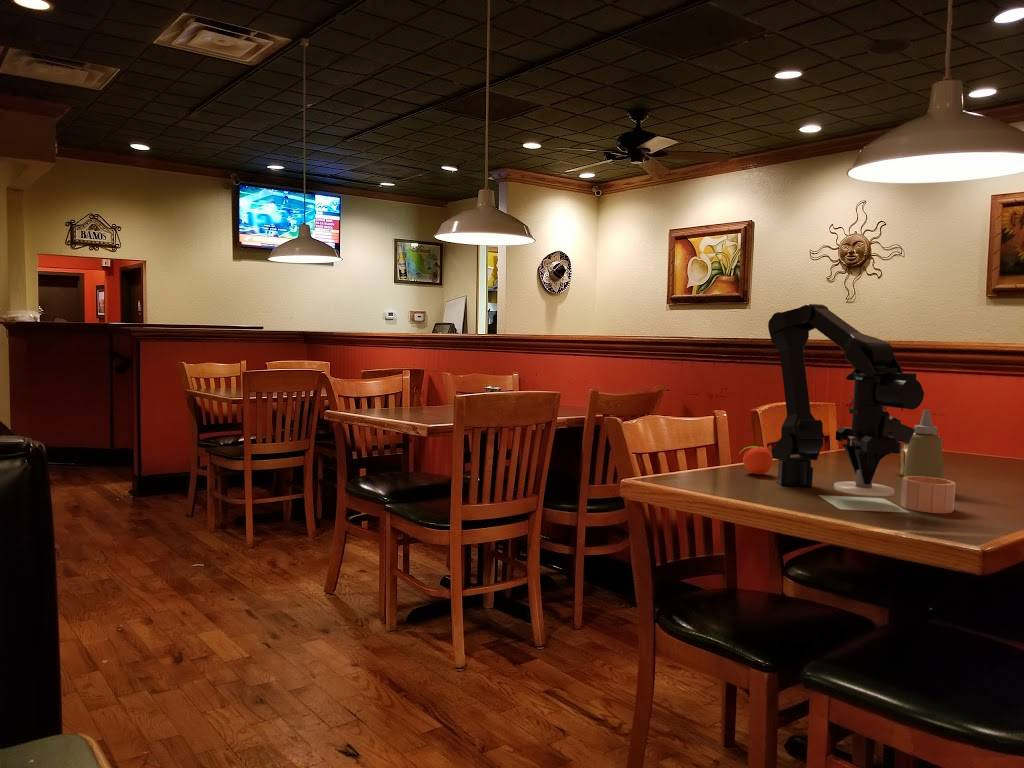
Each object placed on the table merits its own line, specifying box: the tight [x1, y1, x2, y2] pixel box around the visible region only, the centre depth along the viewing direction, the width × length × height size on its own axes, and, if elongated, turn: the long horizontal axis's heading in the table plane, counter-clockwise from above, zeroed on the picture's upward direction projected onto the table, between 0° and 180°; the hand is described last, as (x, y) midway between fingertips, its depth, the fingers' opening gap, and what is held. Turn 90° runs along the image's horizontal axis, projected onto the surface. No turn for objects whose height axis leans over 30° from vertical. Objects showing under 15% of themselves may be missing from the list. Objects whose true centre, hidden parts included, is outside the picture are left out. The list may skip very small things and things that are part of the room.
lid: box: [833, 470, 895, 498], centre depth 154 cm, size 11×11×4 cm
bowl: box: [900, 476, 957, 514], centre depth 152 cm, size 9×9×6 cm
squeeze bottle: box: [903, 409, 945, 479], centre depth 175 cm, size 8×8×18 cm
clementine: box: [739, 445, 774, 476], centre depth 188 cm, size 8×7×7 cm
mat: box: [818, 494, 911, 514], centre depth 154 cm, size 13×13×1 cm
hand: (863, 482), depth 154 cm, fingers closed on lid, 3 cm apart
